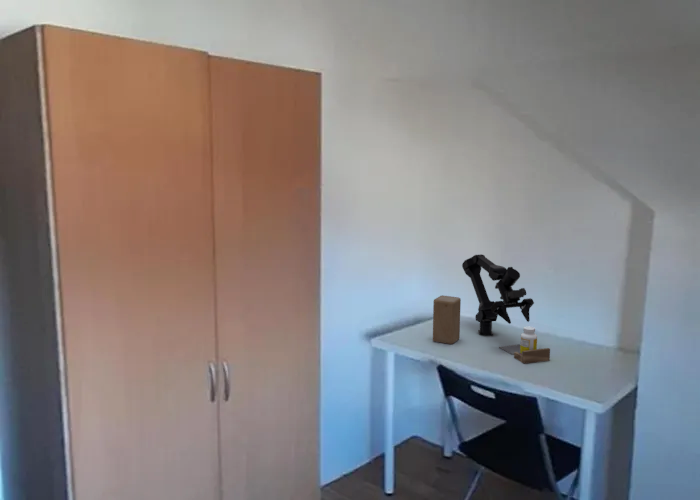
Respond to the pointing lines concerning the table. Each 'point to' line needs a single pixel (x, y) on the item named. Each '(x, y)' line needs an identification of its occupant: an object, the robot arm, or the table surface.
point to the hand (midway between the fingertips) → (519, 322)
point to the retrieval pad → (511, 349)
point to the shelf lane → (533, 355)
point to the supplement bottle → (528, 340)
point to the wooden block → (446, 319)
